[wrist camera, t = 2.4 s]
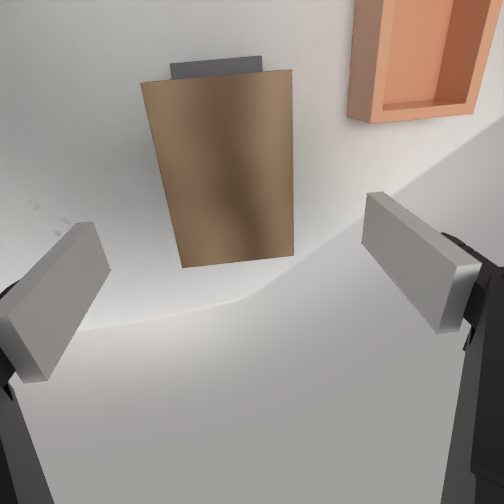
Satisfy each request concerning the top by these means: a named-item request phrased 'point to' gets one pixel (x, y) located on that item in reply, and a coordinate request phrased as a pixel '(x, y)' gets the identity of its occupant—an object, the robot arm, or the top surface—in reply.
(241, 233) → the brown wooden block
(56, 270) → the robot arm
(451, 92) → the dish
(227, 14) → the top surface
